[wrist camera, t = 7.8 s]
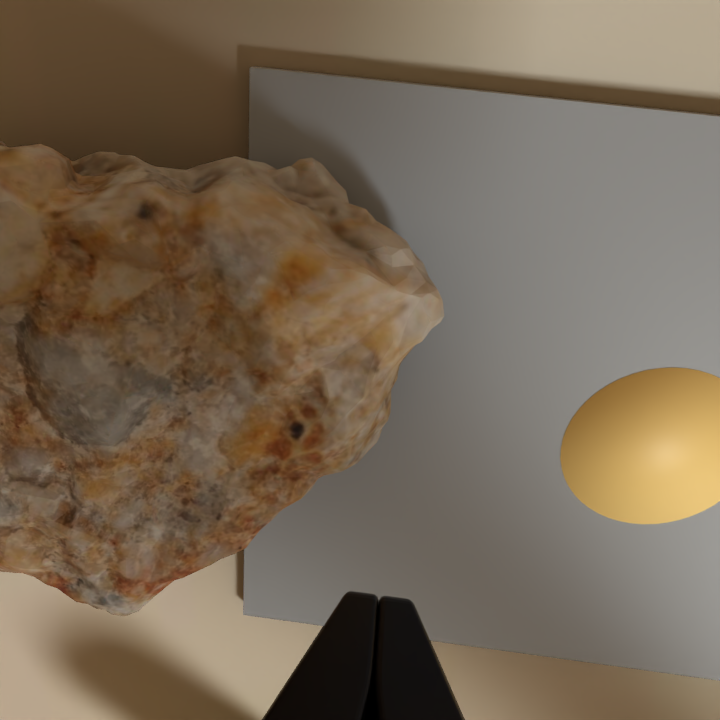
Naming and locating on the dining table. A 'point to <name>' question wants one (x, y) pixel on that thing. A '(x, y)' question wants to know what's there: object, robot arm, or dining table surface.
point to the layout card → (523, 374)
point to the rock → (183, 358)
